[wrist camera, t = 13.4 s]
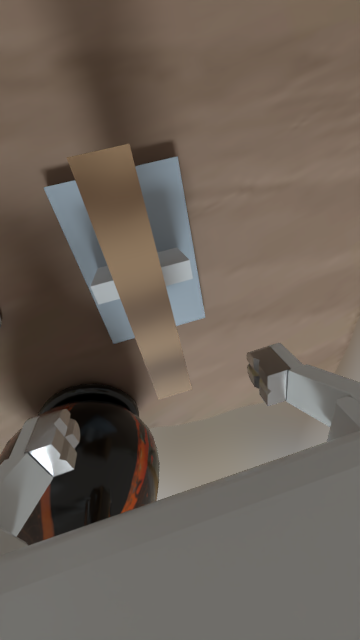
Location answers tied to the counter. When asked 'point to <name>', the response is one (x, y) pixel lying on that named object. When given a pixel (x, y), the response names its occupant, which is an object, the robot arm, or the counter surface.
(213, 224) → the counter surface
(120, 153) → the wooden block
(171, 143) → the counter surface
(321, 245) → the counter surface
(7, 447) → the amphora vase
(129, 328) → the balance stand
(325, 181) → the counter surface
